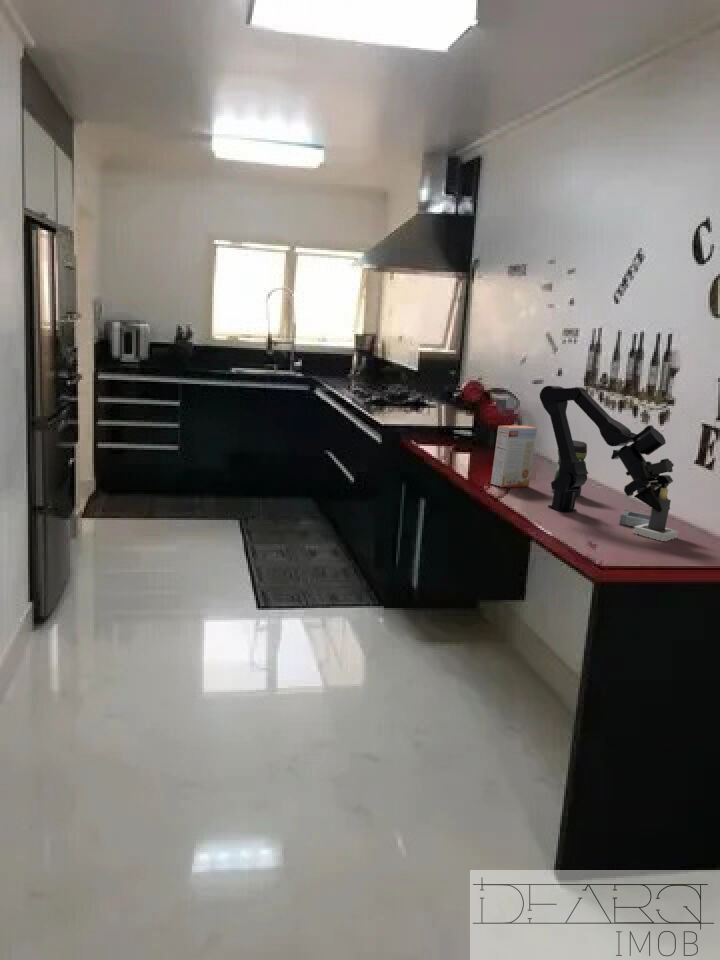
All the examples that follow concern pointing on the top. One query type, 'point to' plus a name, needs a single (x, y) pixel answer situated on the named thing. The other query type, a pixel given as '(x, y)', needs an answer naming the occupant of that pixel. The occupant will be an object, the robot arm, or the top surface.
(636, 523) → the grey tray
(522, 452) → the cracker box
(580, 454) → the coffee jar
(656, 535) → the socket
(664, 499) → the plug
